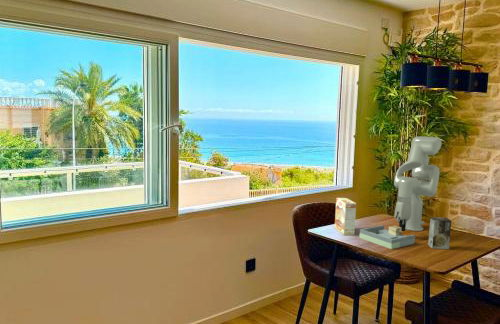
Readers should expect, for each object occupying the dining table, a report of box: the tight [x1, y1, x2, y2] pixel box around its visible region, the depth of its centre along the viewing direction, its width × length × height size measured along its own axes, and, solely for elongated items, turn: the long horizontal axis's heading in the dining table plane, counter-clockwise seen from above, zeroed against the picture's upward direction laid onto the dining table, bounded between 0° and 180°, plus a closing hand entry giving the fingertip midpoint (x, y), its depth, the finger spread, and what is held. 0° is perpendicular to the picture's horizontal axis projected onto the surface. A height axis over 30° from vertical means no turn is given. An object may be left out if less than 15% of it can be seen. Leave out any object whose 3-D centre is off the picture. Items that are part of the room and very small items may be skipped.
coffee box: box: [427, 216, 452, 250], centre depth 216 cm, size 9×6×16 cm
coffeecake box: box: [334, 197, 357, 236], centre depth 239 cm, size 15×7×20 cm, turn 9°
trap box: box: [359, 224, 416, 250], centre depth 225 cm, size 20×22×5 cm
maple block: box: [388, 225, 402, 236], centre depth 228 cm, size 5×5×4 cm
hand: (402, 230), depth 232 cm, fingers closed
